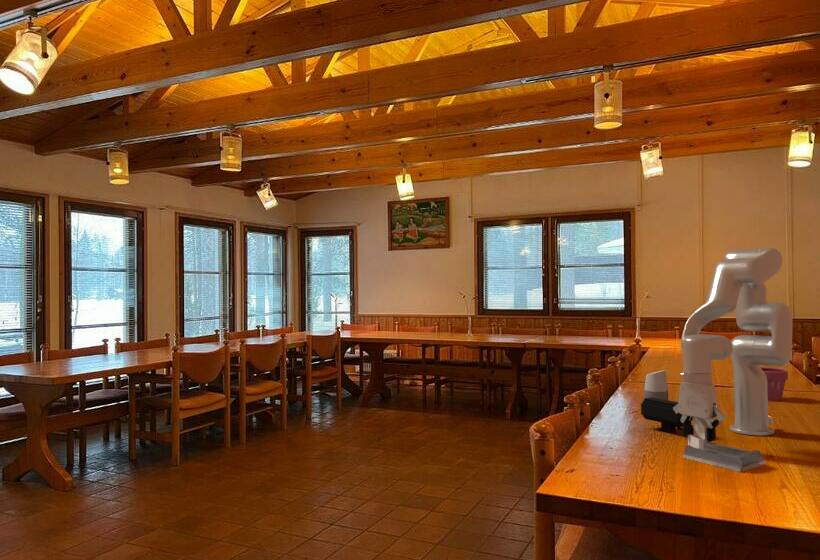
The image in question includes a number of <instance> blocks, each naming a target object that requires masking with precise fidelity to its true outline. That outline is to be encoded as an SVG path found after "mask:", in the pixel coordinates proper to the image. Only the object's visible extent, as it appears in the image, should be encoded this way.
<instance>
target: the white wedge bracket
mask: <svg viewBox="0 0 820 560" xmlns="http://www.w3.org/2000/svg"><path fill="white" fill-rule="evenodd" d="M692 425H693V432H694V434H693V435H688V437H687V446H689V445H690V447H691V446H692V447H694V448H699V449H703V442H708V441H707V430H706V429H707V428H708V425H707V422H706V420H705V419H701V418H696V417H693V420H692ZM710 443H712V441H711V442H710Z"/></svg>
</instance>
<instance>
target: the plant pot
mask: <svg viewBox="0 0 820 560" xmlns="http://www.w3.org/2000/svg"><path fill="white" fill-rule="evenodd" d="M760 367H761V369H762V370H763V372H764V373H765V375H766V378H767V394H768V402H779V401H781V400H782V397H783V393H784V390H785V385H786V381H787V380H789V373H788V370H787V369H784V368H780V367H779V368H777V367H768V366H766V367H765V366H764V367H762V366H760Z"/></svg>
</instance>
